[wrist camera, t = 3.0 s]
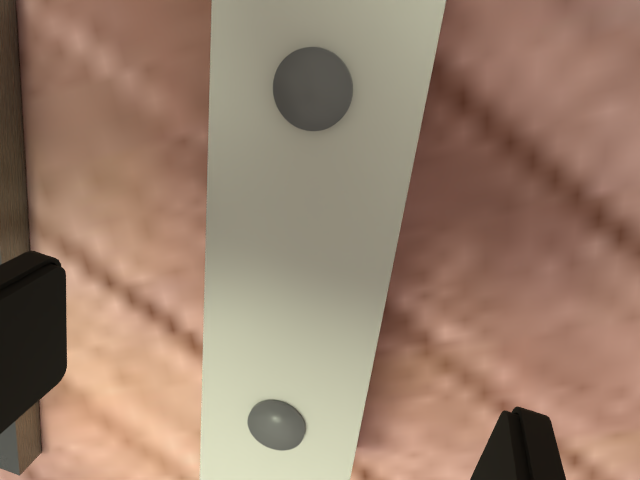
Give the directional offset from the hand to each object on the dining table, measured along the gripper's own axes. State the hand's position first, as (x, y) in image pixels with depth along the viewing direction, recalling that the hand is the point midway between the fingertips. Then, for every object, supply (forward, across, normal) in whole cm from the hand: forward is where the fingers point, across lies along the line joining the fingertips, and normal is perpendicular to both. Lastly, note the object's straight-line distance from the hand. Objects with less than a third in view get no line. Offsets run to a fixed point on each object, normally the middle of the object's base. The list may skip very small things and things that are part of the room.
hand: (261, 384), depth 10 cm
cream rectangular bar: (+9, +1, 0) cm, 9 cm away
